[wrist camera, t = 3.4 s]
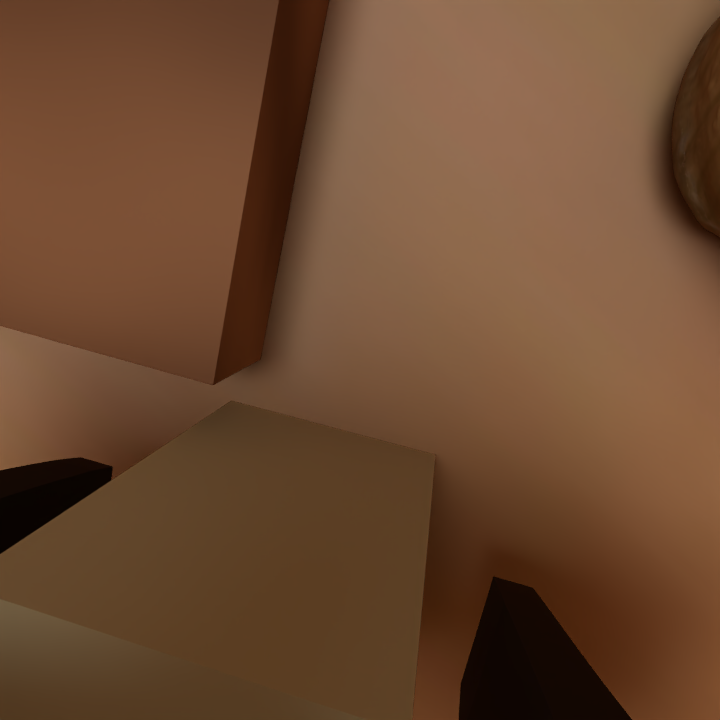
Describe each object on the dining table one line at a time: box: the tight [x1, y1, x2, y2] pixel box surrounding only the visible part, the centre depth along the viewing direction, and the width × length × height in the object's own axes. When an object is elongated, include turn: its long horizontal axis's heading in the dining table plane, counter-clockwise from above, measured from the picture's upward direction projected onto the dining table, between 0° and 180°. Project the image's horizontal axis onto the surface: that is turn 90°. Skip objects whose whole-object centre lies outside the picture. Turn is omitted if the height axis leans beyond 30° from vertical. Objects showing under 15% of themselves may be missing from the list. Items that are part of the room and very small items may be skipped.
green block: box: [0, 401, 436, 720], centre depth 8 cm, size 4×4×6 cm
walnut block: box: [0, 0, 329, 385], centre depth 9 cm, size 10×8×2 cm
